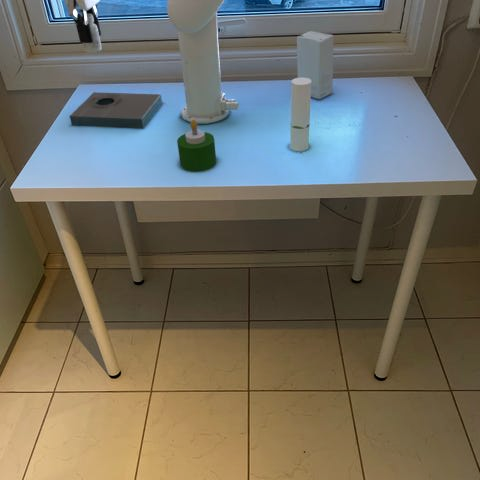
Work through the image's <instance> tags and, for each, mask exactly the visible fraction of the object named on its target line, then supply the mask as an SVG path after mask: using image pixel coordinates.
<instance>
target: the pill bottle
mask: <svg viewBox="0 0 480 480" xmlns="http://www.w3.org/2000/svg"><path fill="white" fill-rule="evenodd" d="M80 15H81V16H82V13H81V14H80ZM86 15H87V24H90V29H91V33H92V38H93V42H92V43H82V47H83V50H84V52H85V53H87V54H94V53H98V52H101V51H102V49H103V47H102V42H101V36H99V32H98V28H97V25H96V24H94V23H93V22H94V18H93V15H92V14H86Z"/></svg>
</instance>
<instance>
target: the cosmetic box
mask: <svg viewBox="0 0 480 480" xmlns="http://www.w3.org/2000/svg"><path fill="white" fill-rule="evenodd" d="M334 38H335V35H334V34H329V33H323V32H318V31H313V30H310V31H307V32H305V33H302V34H300V35H298V36H297V37H296V71H297V72H296V73H297V76H296V78H300V77H304V78H309V79H311V98H313V99H316V100H321V99H324V98H325V97H327V96H330V95H332V94H333V81H334V80H333V78H334V75H333V74H334V45H335V43H334V41H335V39H334Z"/></svg>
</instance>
